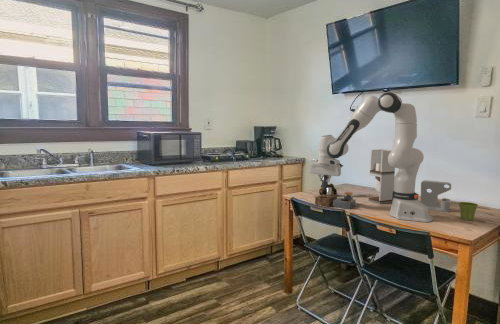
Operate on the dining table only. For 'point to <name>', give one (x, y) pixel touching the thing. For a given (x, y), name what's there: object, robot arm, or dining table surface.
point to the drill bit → (324, 185)
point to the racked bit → (328, 191)
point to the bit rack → (325, 200)
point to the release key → (348, 194)
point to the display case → (382, 176)
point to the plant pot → (467, 210)
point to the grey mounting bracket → (435, 195)
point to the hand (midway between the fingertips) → (324, 181)
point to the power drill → (333, 190)
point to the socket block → (344, 202)
